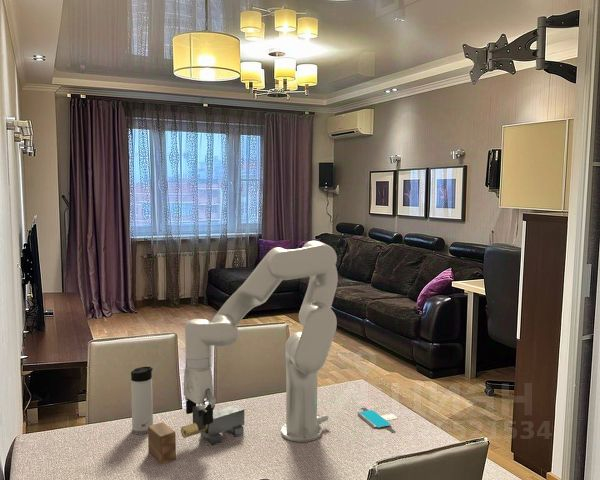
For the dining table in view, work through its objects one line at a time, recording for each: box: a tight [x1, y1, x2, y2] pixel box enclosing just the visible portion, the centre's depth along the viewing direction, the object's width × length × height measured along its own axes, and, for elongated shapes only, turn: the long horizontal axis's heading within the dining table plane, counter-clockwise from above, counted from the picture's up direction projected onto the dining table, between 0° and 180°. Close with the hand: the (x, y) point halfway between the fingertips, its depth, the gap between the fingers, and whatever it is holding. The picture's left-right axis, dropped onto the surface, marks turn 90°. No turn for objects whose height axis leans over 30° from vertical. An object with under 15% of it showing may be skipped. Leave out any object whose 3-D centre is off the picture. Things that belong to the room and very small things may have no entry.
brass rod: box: [180, 404, 208, 439], centre depth 160 cm, size 18×4×8 cm, turn 130°
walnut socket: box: [147, 421, 177, 465], centre depth 150 cm, size 4×8×8 cm, turn 40°
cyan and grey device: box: [357, 407, 399, 434], centre depth 176 cm, size 20×12×2 cm, turn 22°
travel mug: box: [130, 366, 154, 435], centre depth 166 cm, size 6×7×20 cm
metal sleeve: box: [200, 403, 245, 446], centre depth 163 cm, size 12×7×8 cm, turn 130°
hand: (199, 418), depth 158 cm, fingers open, 9 cm apart
